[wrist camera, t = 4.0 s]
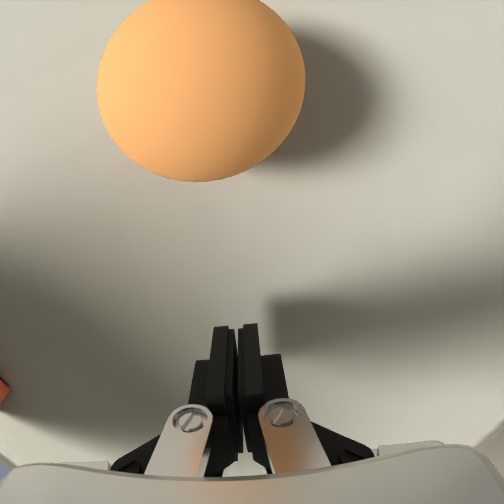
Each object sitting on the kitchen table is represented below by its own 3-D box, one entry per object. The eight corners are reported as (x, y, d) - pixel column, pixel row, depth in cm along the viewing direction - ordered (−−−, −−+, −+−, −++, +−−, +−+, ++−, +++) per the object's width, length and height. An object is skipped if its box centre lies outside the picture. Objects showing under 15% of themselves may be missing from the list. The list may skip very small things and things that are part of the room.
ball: (142, 182, 12) (70, 215, 6) (130, 42, 10) (61, -17, 4) (294, 165, 12) (342, 184, 6) (280, 22, 10) (311, -57, 5)
